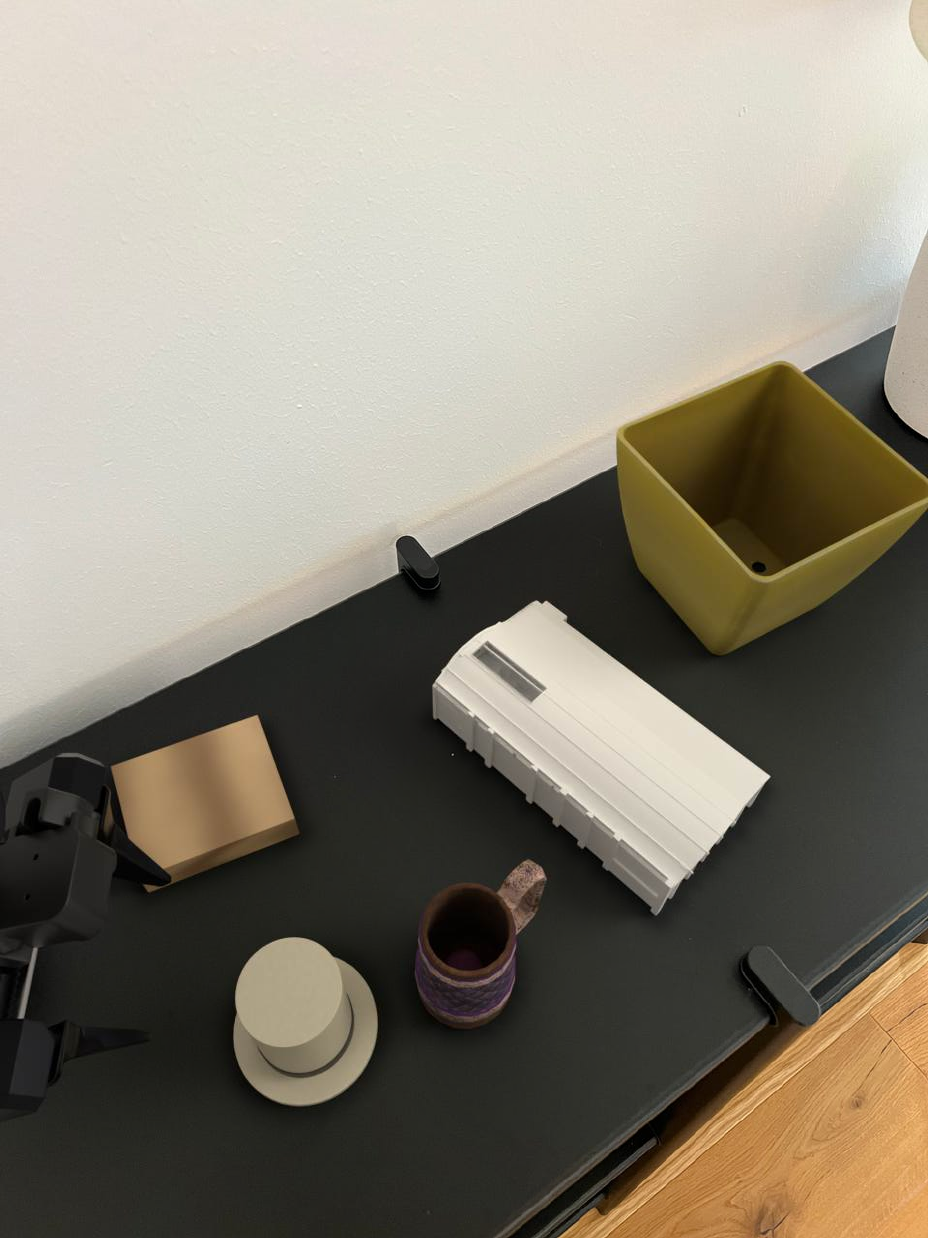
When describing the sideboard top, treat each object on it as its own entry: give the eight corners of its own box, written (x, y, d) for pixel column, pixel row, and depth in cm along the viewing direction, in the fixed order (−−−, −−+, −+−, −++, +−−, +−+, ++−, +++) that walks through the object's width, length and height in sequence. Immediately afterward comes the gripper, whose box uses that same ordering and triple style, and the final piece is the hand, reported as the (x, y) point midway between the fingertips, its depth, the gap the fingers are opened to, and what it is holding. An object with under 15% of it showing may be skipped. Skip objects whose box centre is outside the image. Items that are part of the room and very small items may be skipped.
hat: (258, 1133, 63) (232, 1108, 55) (218, 989, 68) (189, 948, 60) (399, 1067, 65) (393, 1035, 58) (349, 934, 71) (338, 887, 63)
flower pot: (709, 703, 83) (761, 584, 69) (586, 556, 93) (611, 427, 79) (868, 617, 89) (945, 492, 75) (737, 487, 98) (784, 356, 85)
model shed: (769, 794, 78) (794, 754, 72) (660, 920, 72) (679, 887, 66) (541, 620, 88) (547, 573, 82) (428, 717, 82) (427, 674, 76)
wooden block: (148, 893, 72) (138, 878, 70) (120, 783, 78) (110, 766, 75) (299, 834, 75) (294, 818, 73) (263, 732, 81) (257, 714, 78)
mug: (457, 1054, 66) (460, 1009, 56) (395, 972, 69) (388, 917, 59) (565, 959, 70) (584, 902, 60) (501, 886, 73) (511, 821, 63)
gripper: (-79, 1071, 37) (233, 1109, 47) (24, 671, 48) (259, 771, 58) (-204, 1115, 43) (101, 1140, 53) (-86, 746, 54) (147, 826, 64)
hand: (157, 956), depth 57 cm, fingers open, 9 cm apart
